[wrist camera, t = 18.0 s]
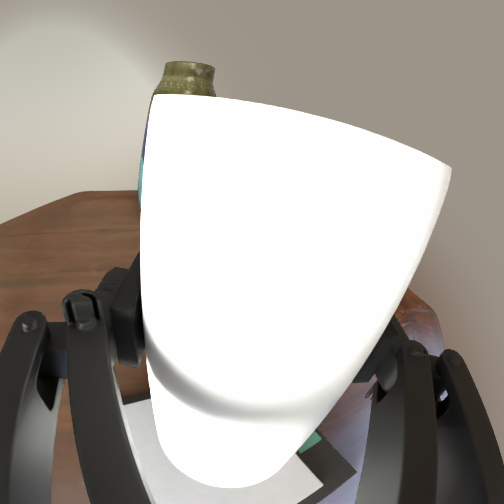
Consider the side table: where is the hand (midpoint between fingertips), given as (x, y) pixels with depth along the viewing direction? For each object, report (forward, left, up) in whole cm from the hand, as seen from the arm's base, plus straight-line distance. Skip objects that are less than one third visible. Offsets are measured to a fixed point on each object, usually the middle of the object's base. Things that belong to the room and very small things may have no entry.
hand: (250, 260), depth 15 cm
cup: (-4, +2, -9) cm, 10 cm away
